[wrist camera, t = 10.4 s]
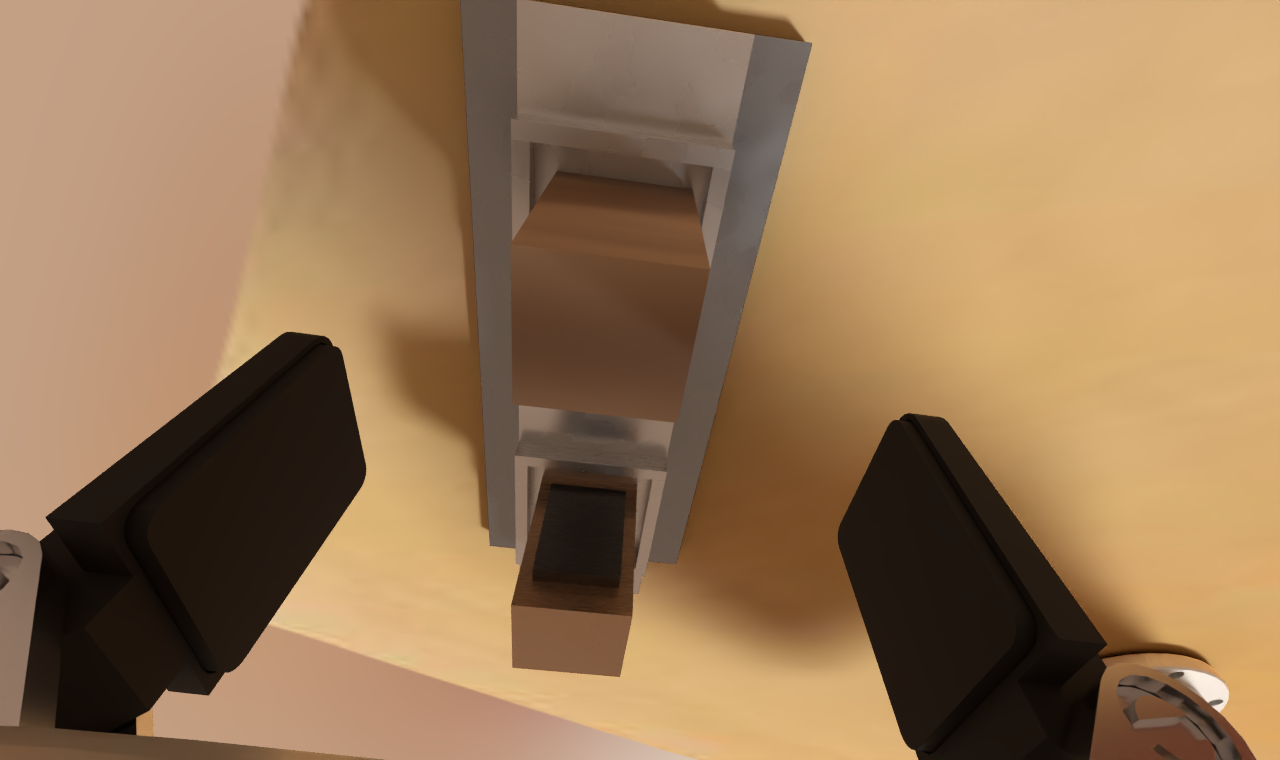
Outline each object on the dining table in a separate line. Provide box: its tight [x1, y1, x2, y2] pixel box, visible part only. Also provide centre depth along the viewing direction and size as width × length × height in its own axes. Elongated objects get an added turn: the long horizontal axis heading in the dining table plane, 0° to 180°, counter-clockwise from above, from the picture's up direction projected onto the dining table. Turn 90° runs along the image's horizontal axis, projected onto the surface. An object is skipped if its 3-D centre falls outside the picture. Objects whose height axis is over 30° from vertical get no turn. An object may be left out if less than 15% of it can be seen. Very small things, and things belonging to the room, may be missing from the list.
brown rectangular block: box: [510, 171, 710, 423], centre depth 14 cm, size 5×4×6 cm
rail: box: [460, 0, 812, 677], centre depth 19 cm, size 24×10×9 cm, turn 173°
